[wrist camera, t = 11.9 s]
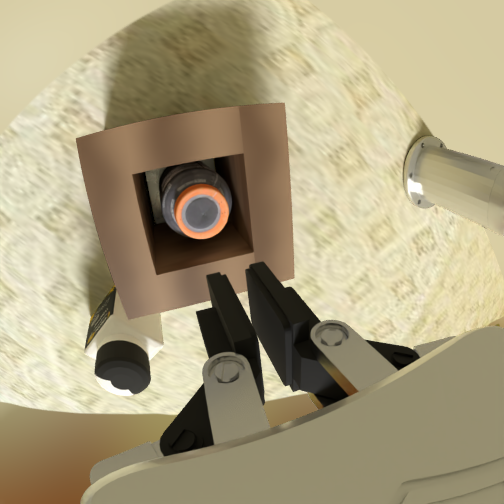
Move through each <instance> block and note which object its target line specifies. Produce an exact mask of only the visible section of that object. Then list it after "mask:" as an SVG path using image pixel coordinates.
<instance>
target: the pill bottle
mask: <svg viewBox="0 0 504 504" xmlns="http://www.w3.org/2000/svg"><path fill="white" fill-rule="evenodd" d="M159 195H160V202H161V209H162V213H163V217H164V219H165V221H166V222H167V224H168V225H169V227H170V228H171V229H173V230H174V231H175V232H177V233H178V234H180V235H182V236H185V237H190V238H196V239H206V238H210V237H213V236H214V235H216V234H218V233H219V232H220V231H221V230H222V229H223V228H224V226H225V224H226V223H227V220H228V216H229V214H230V211H231V206H232V196H231V192H230V189H229V187H228V185H227V183H226V182H225V180H224V179H223V178H222V177H221V176H220V175H219V174H218V173H216V172H215V171H213V170H212V169H211V168H209V167H208V166H207V165H205V164H204V163H202V162H201V161H193V162H188V163H183V164H178V165H173V166H168V167H166V168H165V170H164V171H163V173H162V175H161V177H160V181H159Z"/></svg>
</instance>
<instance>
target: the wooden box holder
mask: <svg viewBox="0 0 504 504" xmlns="http://www.w3.org/2000/svg"><path fill="white" fill-rule="evenodd" d="M76 143H77V148H78V154H79V159H80V164H81V169H82V173H83V178H84V182H85V187H86V191H87V195H88V199H89V203H90V207H91V211H92V215H93V218H94V222H95V225H96V229H97V232H98V236H99V239H100V242H101V246H102V249H103V252H104V255H105V258H106V261H107V264H108V267H109V270H110V273H111V276H112V279H113V281H114V284H115V287H116V290H117V292H118V295H119V298H120V300H121V303H122V305H123V308H124V310H125V313H126V315H127V318H128V320H130V319H134V318H139V317H143V316H148V315H152V314H156V313H161V312H165V311H169V310H173V309H177V308H182V307H186V306H190V305H194V304H198V303H202V302H206V301H210V300H211V298H210V293H209V289H208V284H207V279H206V275H208V274H212V273H217V272H220V273H221V275H224V274H226V275H227V277H228V279H229V281H230V283H231V285H232V287H233V289H234V291H235V293H236V294H237V293H241V292H245V291H248V290H247V282H246V274H245V270H246V269H248V268H249V265H250V264H253V263H258V262H262V261H263V262H265V264H266V265H267V266H268V267H269V269H270V270H271V271H272V273H273V274H274V275H275V276H276V278H277V279H278V280H279V281H280V282H282V281H286V280H290V279H293V278H294V249H293V223H292V202H291V184H290V167H289V152H288V138H287V125H286V113H285V103H270V104H255V105H244V106H233V107H224V108H216V109H208V110H201V111H194V112H188V113H182V114H176V115H170V116H165V117H160V118H155V119H150V120H145V121H140V122H136V123H131V124H127V125H123V126H119V127H115V128H111V129H107V130H104V131H100V132H96V133H93V134H90V135H86V136H83V137H80V138H76ZM210 158H214V161H215V168H216V173H218V174H219V175H220V176H221V177H222V178H223V179H224V180H225V182H226V183H227V185H228V187H229V189H230V192H231V196H232V206H231V211H230V214H229V216H228V220H227V223H226V224H225V226H224V228H223V229H222V230H221V231H220V232H219V233H218V234H216V235H214V236H213V237H210V238H206V239H196V238H190V237H185V236H182V235H180V234H178V233H177V232H175V231H174V230H173V229H171V228H170V227H169V225H168V224H167V222H165V223H160V224H155V225H154V223H153V219H152V214H151V210H150V205H149V200H148V196H147V191H146V186H145V180H144V175H143V172H145V171H149V170H154V169H158V168H163V167H168V166H173V165H178V164H183V163H188V162H193V161H199V160H204V159H210Z"/></svg>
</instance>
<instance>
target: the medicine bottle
mask: <svg viewBox="0 0 504 504" xmlns="http://www.w3.org/2000/svg"><path fill="white" fill-rule="evenodd" d="M163 345H164V342H163V334H162V326H161V317H160V313H156V314H152V315H148V316H143V317H139V318H134V319H130V320H128V318H127V315H126V313H125V310H124V308H123V305H122V303H121V300H120V298H119V295H118V292H117V290H116V287H115V285H114V287H113V288H112V289H111V291H110V292H109V293H108V295H107V296H106V298H105V299H104V300H103V302H102V303H101V304H100V306H99V307H98V309H97V310H96V311H95V313H94V314H93V316H92V317H91V319H90V324H89V329H88V334H87V339H86V345H85V351H84V352H85V354H86V355H88V356H90V357H91V358H93V359H95V360H96V363H95V378H96V380H97V382H98V383H99V384H100V385H101V386H102V387H103V388H104V389H105V390H107V391H109V392H111V393H114V394H117V395H124V396H128V395H135V394H138V393H140V392H142V391H143V390H144V389H146V388H147V387H148V385H149V383H150V380H151V376H150V365H149V361H150V360H151V359H152V358H153V356H154V355H155V354H156V353H157V352H158V351H159V350H160V349H161V348H162V347H163Z"/></svg>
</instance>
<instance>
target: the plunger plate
mask: <svg viewBox="0 0 504 504" xmlns="http://www.w3.org/2000/svg"><path fill="white" fill-rule="evenodd" d="M199 161H201V162H202V163H204V164H205V165H207V166H208V167H209V168H211V169H212V170H213V171H215V170H214V162H213V158H210V159H204V160H199ZM165 168H166V167H163V168H158V169H154V170H149V171H145V174H146V179H147V184H148V189H149V194H150V199H151V204H152V209H153V213H154V218H155V222H156V224H160V223H165V222H166V221H165V219H164V217H163V213H162V209H161V202H160V195H159V181H160V177H161V175H162V173H163V171H164V170H165Z"/></svg>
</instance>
